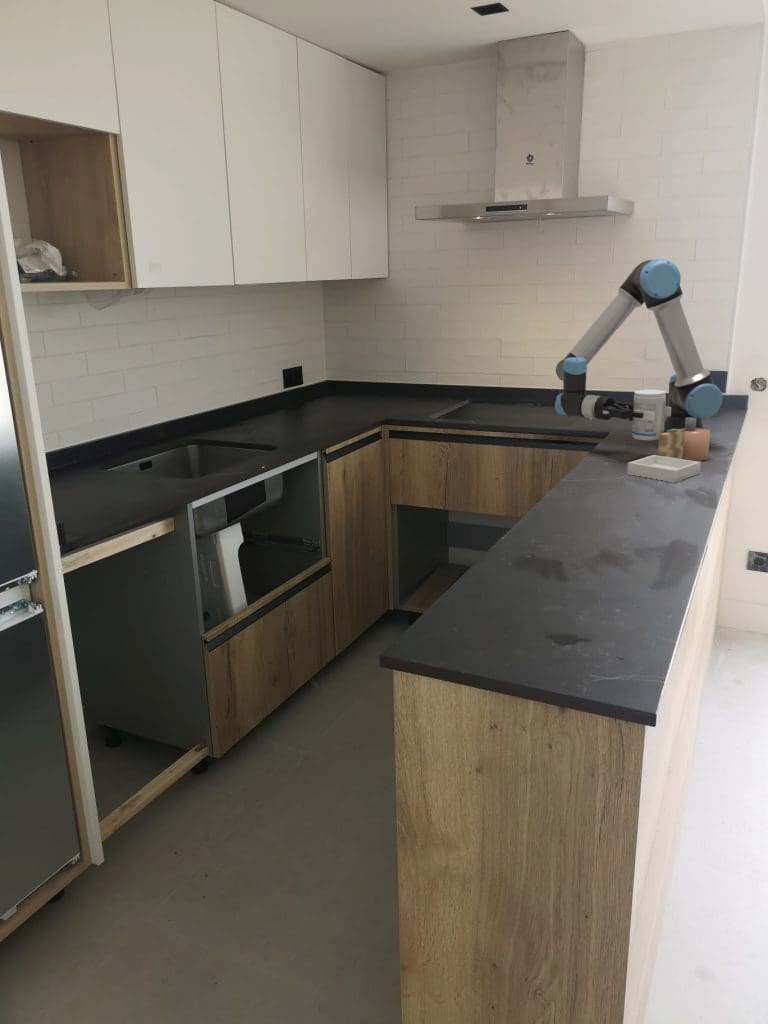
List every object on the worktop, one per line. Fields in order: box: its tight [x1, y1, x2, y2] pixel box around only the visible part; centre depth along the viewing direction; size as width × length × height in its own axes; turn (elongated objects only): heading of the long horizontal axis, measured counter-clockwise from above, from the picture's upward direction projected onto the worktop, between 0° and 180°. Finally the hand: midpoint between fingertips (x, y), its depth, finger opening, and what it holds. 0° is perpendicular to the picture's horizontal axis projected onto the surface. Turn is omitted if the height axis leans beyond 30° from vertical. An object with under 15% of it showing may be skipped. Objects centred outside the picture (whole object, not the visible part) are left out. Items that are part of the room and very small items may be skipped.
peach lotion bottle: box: [682, 417, 711, 462], centre depth 256 cm, size 9×9×13 cm
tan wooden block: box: [657, 429, 685, 459], centre depth 249 cm, size 12×2×11 cm, turn 133°
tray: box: [626, 454, 702, 484], centre depth 237 cm, size 15×15×4 cm
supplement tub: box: [631, 389, 667, 441], centre depth 252 cm, size 10×10×15 cm
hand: (662, 414), depth 249 cm, fingers closed on supplement tub, 9 cm apart
